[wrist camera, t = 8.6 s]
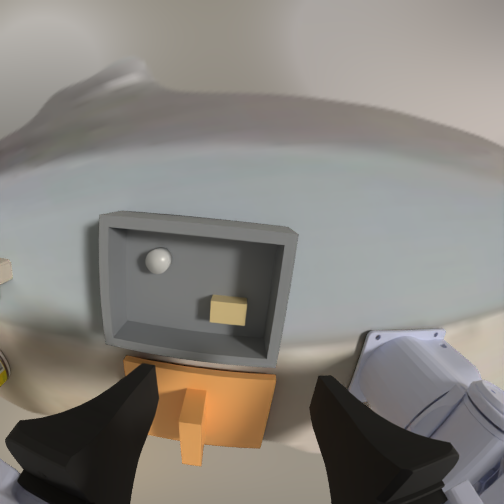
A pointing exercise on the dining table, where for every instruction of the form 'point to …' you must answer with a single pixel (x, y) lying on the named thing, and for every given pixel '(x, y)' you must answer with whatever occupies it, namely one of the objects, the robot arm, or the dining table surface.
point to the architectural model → (5, 270)
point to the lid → (208, 407)
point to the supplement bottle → (3, 369)
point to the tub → (195, 286)
